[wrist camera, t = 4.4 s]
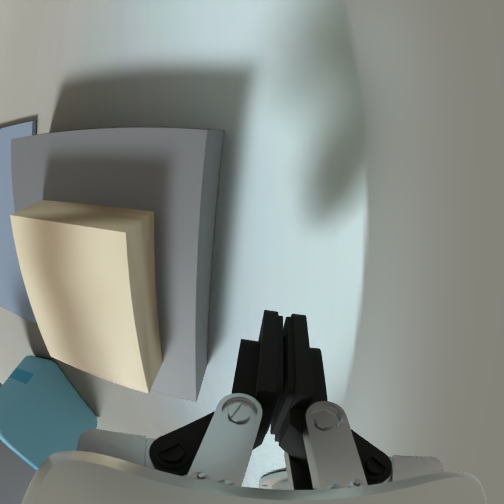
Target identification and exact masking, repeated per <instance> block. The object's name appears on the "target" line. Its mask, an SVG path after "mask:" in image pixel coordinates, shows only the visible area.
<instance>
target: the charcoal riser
mask: <svg viewBox="0 0 504 504" xmlns="http://www.w3.org/2000/svg"><path fill="white" fill-rule="evenodd" d="M223 138H224V131H222V130H209V129H194V128H172V127H117V128H95V129H81V130H70V131H60V132H51V133H44V134H37V135H31V136H25V137H20V138H15V139H11V173H12V188H13V199H14V208H15V212H17V211H20V210H22V209H24V208H26V207H28V206H30V205H32V204H35V203H37V202H39V201H41V200H48V201H59V202H69V203H79V204H89V205H99V206H108V207H117V208H126V209H135V210H143V211H152V212H154V255H155V280H156V297H157V311H158V323H159V333H160V343H161V352H162V360H163V363H162V365H161V367H160V370H159V372H158V374H157V376H156V379H155V381H154V383H153V385H152V388H151V390H150V391H153V392H157V393H161V394H164V395H168V396H172V397H176V398H180V399H184V400H189V401H193V402H196V401H197V398H198V395H199V391H200V388H201V384H202V381H203V377H204V374H205V370H206V367H207V344H208V320H209V301H210V284H211V268H212V254H213V241H214V228H215V216H216V205H217V194H218V184H219V174H220V164H221V155H222V146H223Z"/></svg>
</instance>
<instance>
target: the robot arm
mask: <svg viewBox="0 0 504 504" xmlns="http://www.w3.org/2000/svg"><path fill="white" fill-rule="evenodd" d="M270 424H271V434H275V441H277V442H279V446H280V447H281V448H282V449H283V450H284V451H285V453H284V456H285V463H286V469H287V471H282V472H276V473H273V474H269V475H267V476H264V477H263V478H261V479H260V481H259V488H250V487H241V485H242V482H243V479H244V476H245V472H246V469H247V466H248V463H249V460H250V456H251V453H252V450H253V449H255V448H256V447H258V446H259V445H261V444H262V442H263V440H264V437H265V435H266V434H267V432H268V429H269V427H270ZM21 504H488V503H487V499H486V496H485V493H484V490H483V487H482V485H481V483H480V482H479V480H478V479H477V478H476V477H475V476H473V475H471V474H469V473H464V472H459V471H443V466H442V463H441V462H440V460H438V459H437V458H435V457H417V456H399V455H394V456H392V457H388V456H387V455H386V454H385V453H383V452H382V451H380V450H379V449H378V448H376V447H375V446H373V445H372V444H370V443H369V442H368V441H366V440H365V439H364V438H362V437H361V436H359V435H358V434H357V433H355V432H354V431H353V430H351V429H350V426H349V423H348V420H347V417H346V414H345V412H344V410H343V409H342V408H341V407H340V406H338V405H337V404H335V403H332V402H329V401H327V392H326V384H325V376H324V369H323V362H322V354H321V350H320V349H318V348H310V347H309V337H308V328H307V320H306V316H305V315H298V314H292V315H291V317H286V320H285V324H284V328H283V316H278V312H275V311H268V310H264V315H263V320H262V325H261V330H260V335H259V341H251V340H244V339H241V343H240V348H239V354H238V360H237V366H236V371H235V377H234V383H233V388H232V394H230V395H227V396H225V397H224V398H222V399H221V400H220V402H219V403H218V405H217V408H216V410H215V411H214V412H212V413H210V414H208V415H206V416H204V417H202V418H200V419H198V420H196V421H194V422H192V423H190V424H188V425H186V426H184V427H181V428H179V429H177V430H175V431H172V432H170V433H168V434H166V435H163V436H161V437H159V438H157V439H153V438H146V436H142V435H133V434H125V433H118V432H111V431H105V430H100V429H88V430H85V431H84V432H83V433H82V434H81V435H80V437H79V439H78V443H77V448H76V451H72V450H71V451H60V452H56V453H53V454H52V455H50V456H49V457H47V459H46V460H45V461H44V462H43V463H42V464H41V466H40V467H39V468H38V470H37V472H36V474H35V475H34V477H33V479H32V481H31V483H30V484H29V487H28V489H27V491H26V493H25V496H24V498H23V501H22V503H21Z"/></svg>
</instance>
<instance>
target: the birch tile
mask: <svg viewBox="0 0 504 504" xmlns="http://www.w3.org/2000/svg"><path fill="white" fill-rule="evenodd" d="M10 218H11V224H12V230H13V236H14V242H15V247H16V252H17V256H18V261H19V265H20V269H21V273H22V277H23V280H24V284H25V287H26V291H27V294H28V298H29V301H30V304H31V307H32V310H33V313H34V316H35V318H36V321H37V324H38V327H39V329H40V332H41V334H42V337H43V339H44V342H45V344H46V347H47V349H48V351H49V354H50V356H51V357H53V358H55V359H57V360H59V361H62V362H64V363H66V364H68V365H71V366H73V367H75V368H78V369H80V370H82V371H85V372H87V373H90V374H92V375H95V376H97V377H100V378H103V379H105V380H108V381H111V382H114V383H117V384H120V385H122V386H125V387H129V388H132V389H135V390H138V391H141V392H145V393H148V394H149V392H150V390H151V388H152V385H153V383H154V381H155V379H156V376H157V374H158V372H159V370H160V367H161V365H162V363H163V360H162V352H161V343H160V333H159V323H158V311H157V297H156V280H155V255H154V212H152V211H143V210H135V209H126V208H117V207H108V206H99V205H89V204H79V203H69V202H59V201H48V200H41V201H39V202H37V203H35V204H32V205H30V206H28V207H26V208H24V209H22V210H20V211H17V212H15V213H13V214H11V215H10Z"/></svg>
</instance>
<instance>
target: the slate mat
mask: <svg viewBox="0 0 504 504" xmlns="http://www.w3.org/2000/svg"><path fill="white" fill-rule="evenodd" d="M31 135H36V121H30V122H26V123H21V124H17V125H13V126H8V127H5V128H1V129H0V306H1V307H3V308H5V309H7V310H9V311H11V312H13V313H15V314H17V315H19V316H21V317H23V318H25V319H27V320H29V321H31V322H33V323H35V324H37V321H36V318H35V316H34V313H33V310H32V307H31V304H30V301H29V298H28V294H27V291H26V287H25V284H24V280H23V277H22V273H21V269H20V265H19V261H18V256H17V252H16V247H15V242H14V236H13V230H12V224H11V218H10V215H11V214H13V213H15V208H14V199H13V188H12V173H11V139H15V138H20V137H25V136H31ZM37 325H38V324H37Z"/></svg>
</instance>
